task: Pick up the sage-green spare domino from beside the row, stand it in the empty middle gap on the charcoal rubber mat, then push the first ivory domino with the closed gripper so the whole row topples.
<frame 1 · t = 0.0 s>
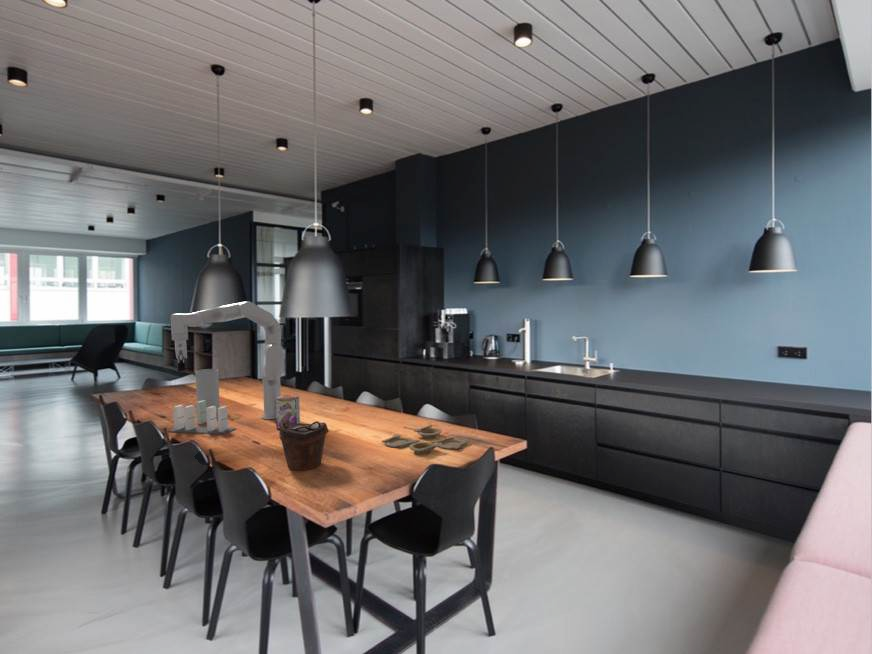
hand: (181, 369, 260), 31 cm above the table, tool pointing down, fingers open, 9 cm apart
domino 4: (190, 429, 258), resting on rubber mat
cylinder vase: (208, 411, 301), on the table
domino 1: (223, 430, 253), resting on rubber mat
domino 5: (179, 428, 259), resting on rubber mat
candy bar box: (288, 428, 256), on the table
spare domino: (202, 423, 272), on the table
domino 2: (212, 430, 255), resting on rubber mat
rubber mat: (202, 430, 256), on the table
tableware set: (425, 445, 224), on the table
brown basket: (305, 465, 199), on the table
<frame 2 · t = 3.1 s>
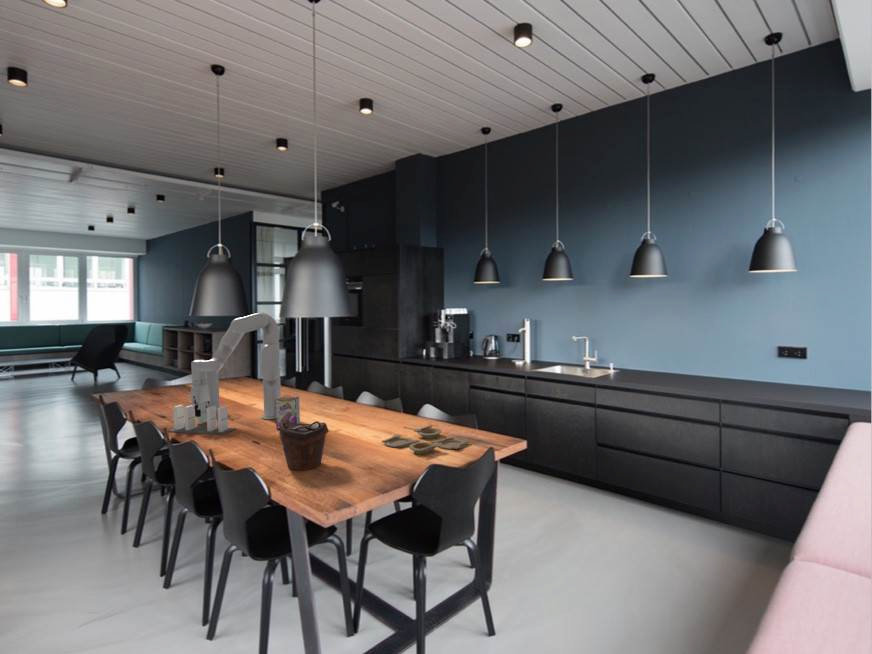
hand: (201, 415, 272), 4 cm above the table, tool pointing down, fingers closed on spare domino, 4 cm apart
spare domino: (201, 423, 272), on the table, touching gripper
everything else where it was.
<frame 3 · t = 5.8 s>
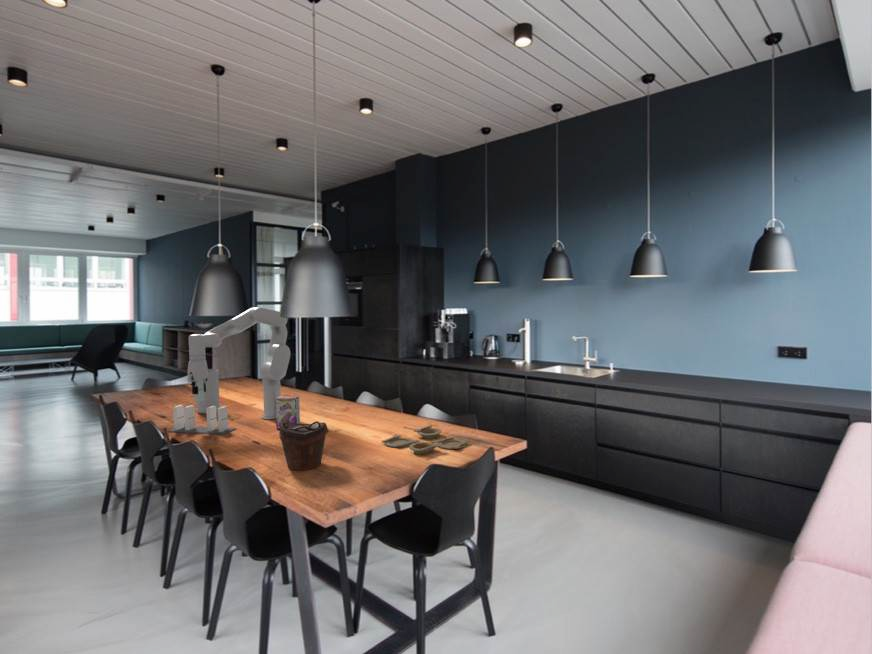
hand: (199, 392, 257), 20 cm above the table, tool pointing down, fingers closed on spare domino, 4 cm apart
spare domino: (199, 401, 257), point 15 cm above the table, touching gripper
everything else where it was.
when the fingers open (6 cm above the table, at t = 9.0 s): spare domino stays where it is, resting on rubber mat.
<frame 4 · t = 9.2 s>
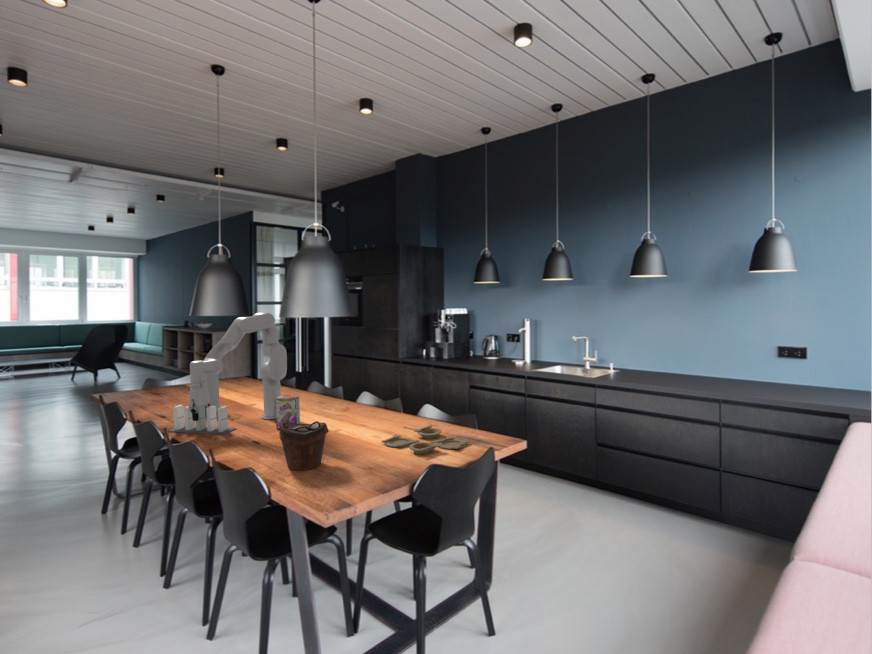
hand: (200, 418, 256), 6 cm above the table, tool pointing down, fingers open, 7 cm apart
spare domino: (201, 429, 256), resting on rubber mat
everything else where it was.
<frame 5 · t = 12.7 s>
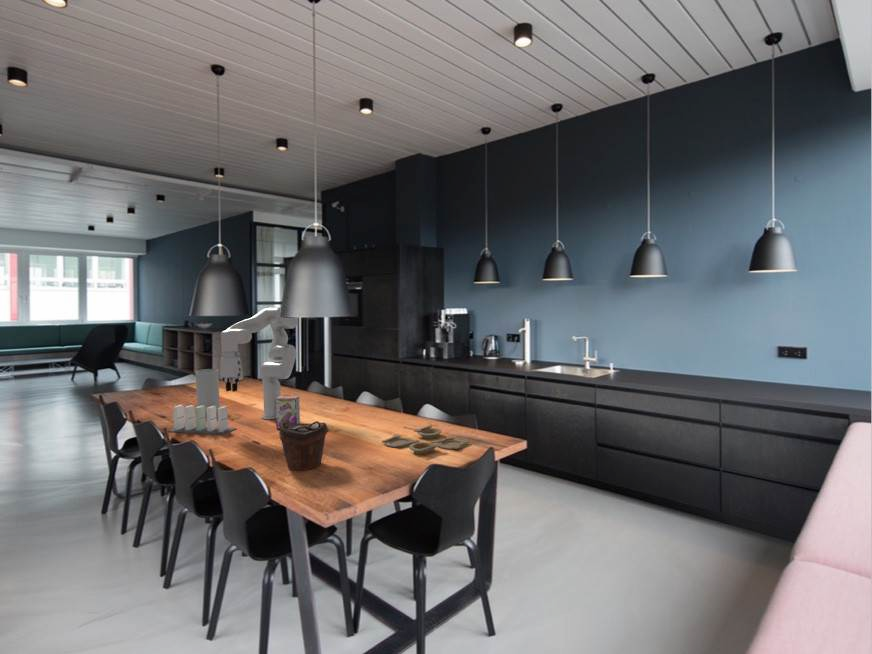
hand: (231, 390, 251), 21 cm above the table, tool pointing down, fingers closed
nothing on the table moved.
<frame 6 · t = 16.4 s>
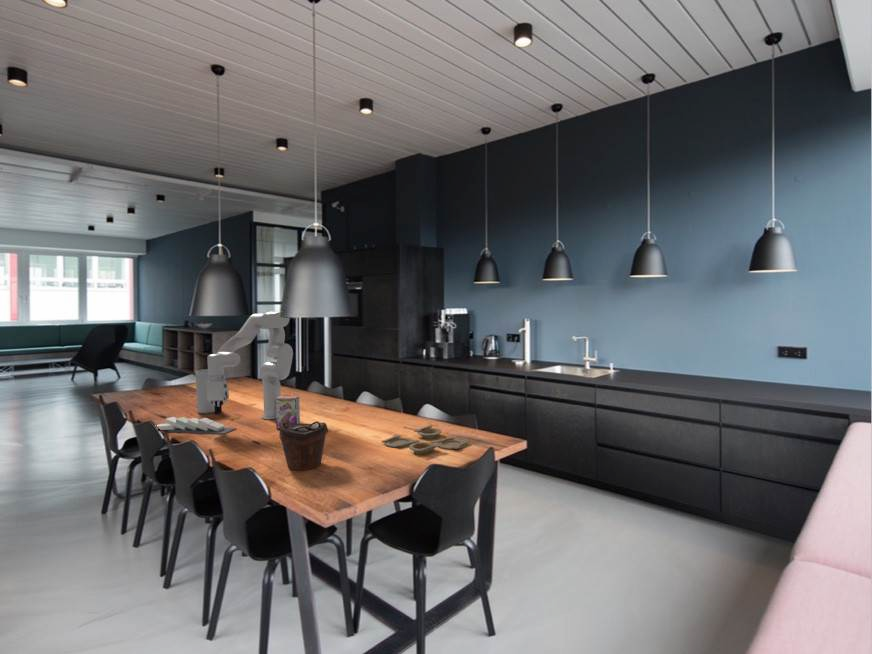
hand: (218, 413, 253), 9 cm above the table, tool pointing down, fingers closed
domino 4: (188, 427, 258), point 1 cm above the table, tilted 72°, touching domino 5, rubber mat, spare domino
domino 1: (221, 428, 253), point 1 cm above the table, tilted 71°, touching domino 2, rubber mat
domino 5: (177, 426, 259), point 2 cm above the table, tilted 93°, touching domino 4, rubber mat
spare domino: (198, 427, 256), point 1 cm above the table, tilted 72°, touching domino 2, domino 4, rubber mat
domino 2: (210, 428, 255), point 1 cm above the table, tilted 72°, touching domino 1, rubber mat, spare domino
everything else where it was.
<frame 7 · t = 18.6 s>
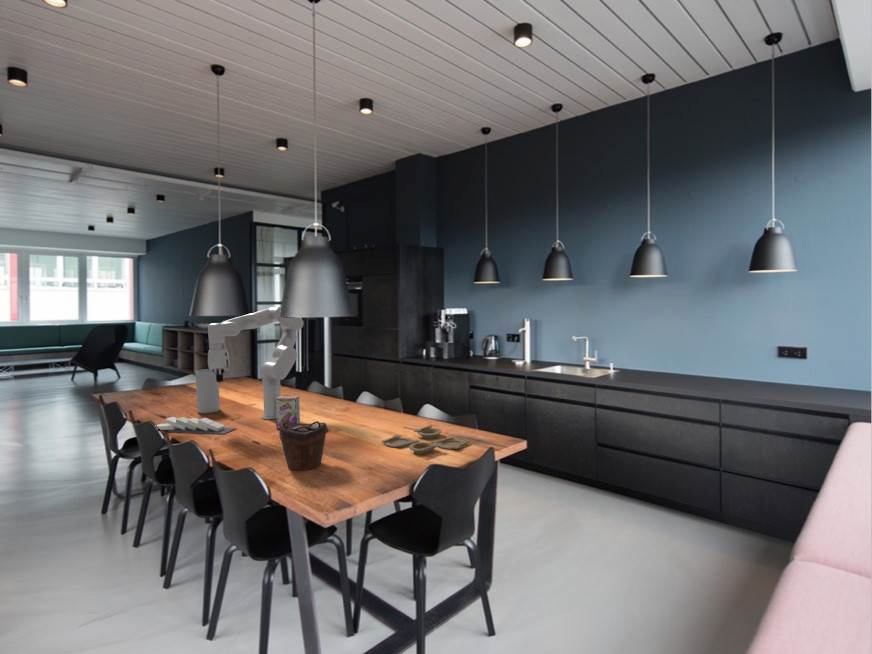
hand: (219, 381, 259), 24 cm above the table, tool pointing down, fingers closed
nothing on the table moved.
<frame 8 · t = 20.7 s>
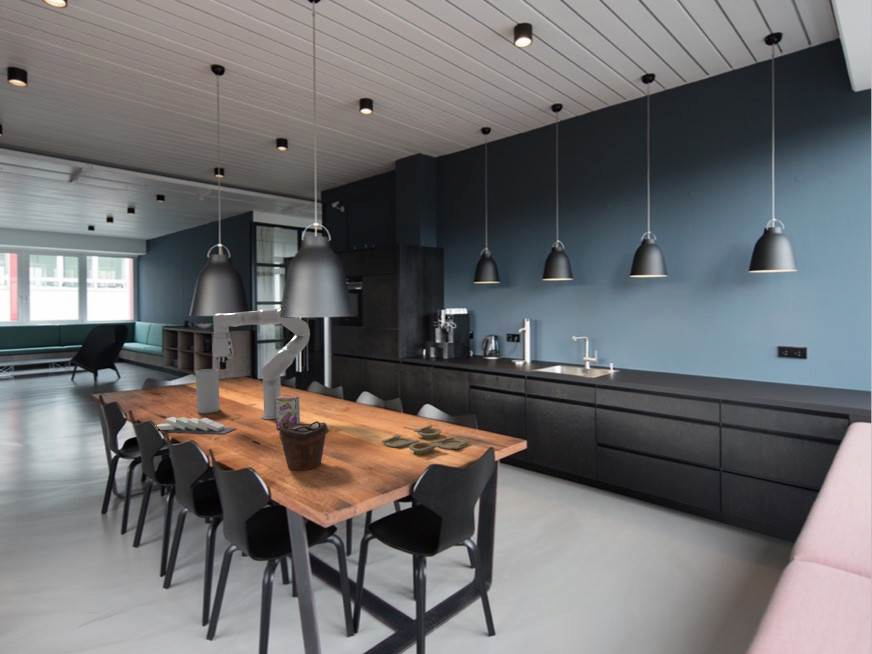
hand: (223, 369, 274), 29 cm above the table, tool pointing down, fingers closed
nothing on the table moved.
at the end: domino 5 tilted 93°; spare domino tilted 72°; spare domino inside the target area (1.0 cm from its centre), point 1.5 cm above the table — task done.
